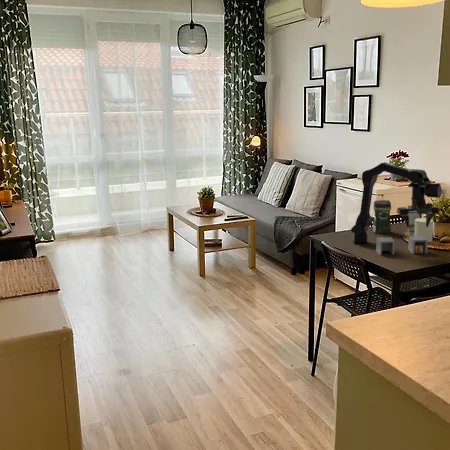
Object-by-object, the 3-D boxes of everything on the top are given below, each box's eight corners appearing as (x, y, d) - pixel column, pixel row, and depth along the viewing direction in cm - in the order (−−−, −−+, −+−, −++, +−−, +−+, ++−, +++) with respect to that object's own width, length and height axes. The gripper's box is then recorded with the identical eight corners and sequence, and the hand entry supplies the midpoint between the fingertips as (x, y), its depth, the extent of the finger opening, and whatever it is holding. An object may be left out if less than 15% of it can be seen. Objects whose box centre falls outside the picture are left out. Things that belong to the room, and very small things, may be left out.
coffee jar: (388, 230, 296) (389, 198, 291) (392, 233, 288) (393, 201, 284) (371, 230, 297) (372, 199, 292) (374, 234, 289) (375, 202, 284)
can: (434, 243, 266) (435, 221, 263) (415, 243, 268) (416, 221, 265) (430, 238, 275) (431, 217, 272) (412, 238, 277) (413, 217, 274)
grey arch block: (412, 253, 251) (413, 240, 249) (408, 249, 258) (408, 236, 256) (427, 253, 251) (427, 239, 249) (422, 249, 258) (422, 235, 256)
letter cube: (415, 253, 252) (415, 246, 251) (412, 251, 256) (413, 244, 255) (422, 253, 252) (423, 245, 251) (420, 250, 256) (420, 243, 255)
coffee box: (421, 237, 278) (422, 208, 274) (408, 237, 279) (409, 208, 276) (418, 233, 287) (419, 205, 283) (406, 233, 288) (407, 205, 284)
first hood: (379, 255, 251) (380, 241, 250) (376, 251, 258) (376, 237, 257) (394, 254, 251) (394, 240, 250) (390, 250, 258) (390, 237, 256)
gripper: (403, 200, 240) (403, 232, 244) (444, 198, 239) (443, 230, 243) (396, 196, 251) (396, 227, 254) (435, 194, 250) (434, 225, 254)
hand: (417, 227), depth 251 cm, fingers open, 9 cm apart
